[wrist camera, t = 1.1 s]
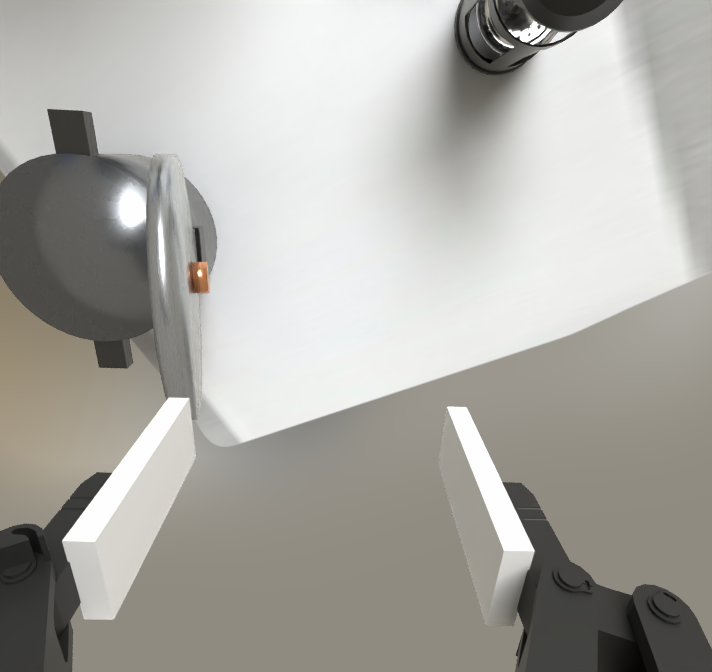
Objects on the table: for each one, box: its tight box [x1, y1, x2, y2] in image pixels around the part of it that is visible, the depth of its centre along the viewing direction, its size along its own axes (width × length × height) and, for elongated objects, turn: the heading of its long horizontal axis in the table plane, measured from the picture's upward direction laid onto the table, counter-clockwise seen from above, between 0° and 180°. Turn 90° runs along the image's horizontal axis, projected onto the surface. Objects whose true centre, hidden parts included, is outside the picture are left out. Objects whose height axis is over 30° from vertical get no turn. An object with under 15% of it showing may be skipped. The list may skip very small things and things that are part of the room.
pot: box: [0, 109, 217, 368], centre depth 47 cm, size 25×20×12 cm
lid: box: [146, 154, 209, 420], centre depth 33 cm, size 19×20×2 cm
